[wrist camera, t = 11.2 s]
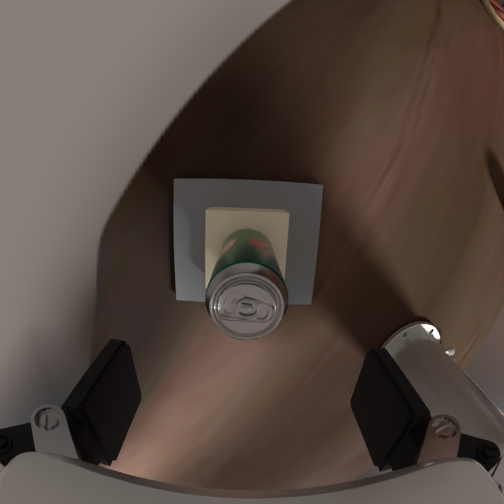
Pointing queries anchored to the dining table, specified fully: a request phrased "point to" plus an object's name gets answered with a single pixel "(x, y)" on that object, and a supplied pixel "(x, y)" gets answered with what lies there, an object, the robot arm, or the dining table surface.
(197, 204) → the build base
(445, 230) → the dining table surface
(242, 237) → the soda can
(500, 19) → the cake
